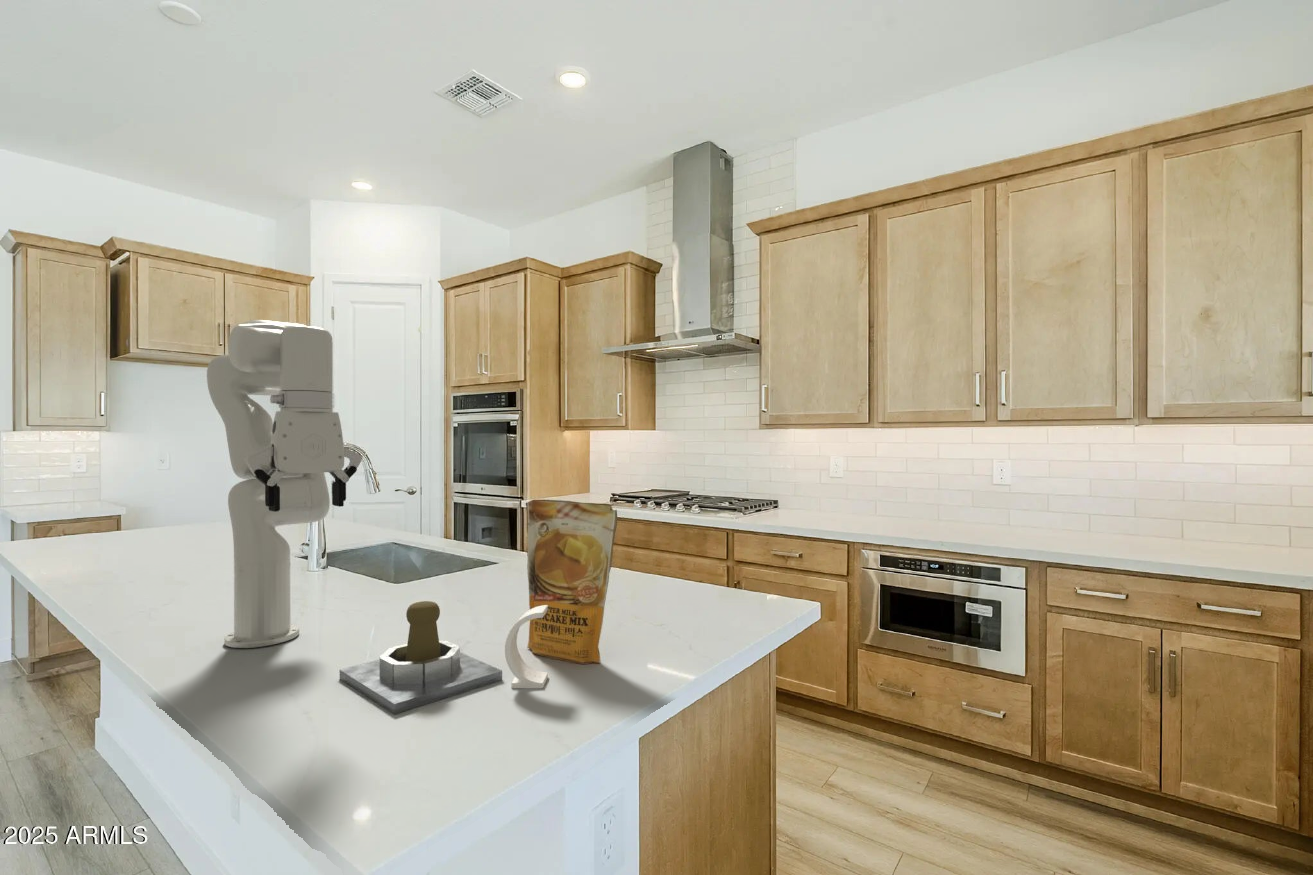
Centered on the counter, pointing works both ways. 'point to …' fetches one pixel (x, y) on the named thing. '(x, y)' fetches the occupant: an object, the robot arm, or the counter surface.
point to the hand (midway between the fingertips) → (307, 508)
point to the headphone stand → (518, 667)
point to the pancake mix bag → (569, 576)
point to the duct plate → (418, 691)
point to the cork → (423, 632)
